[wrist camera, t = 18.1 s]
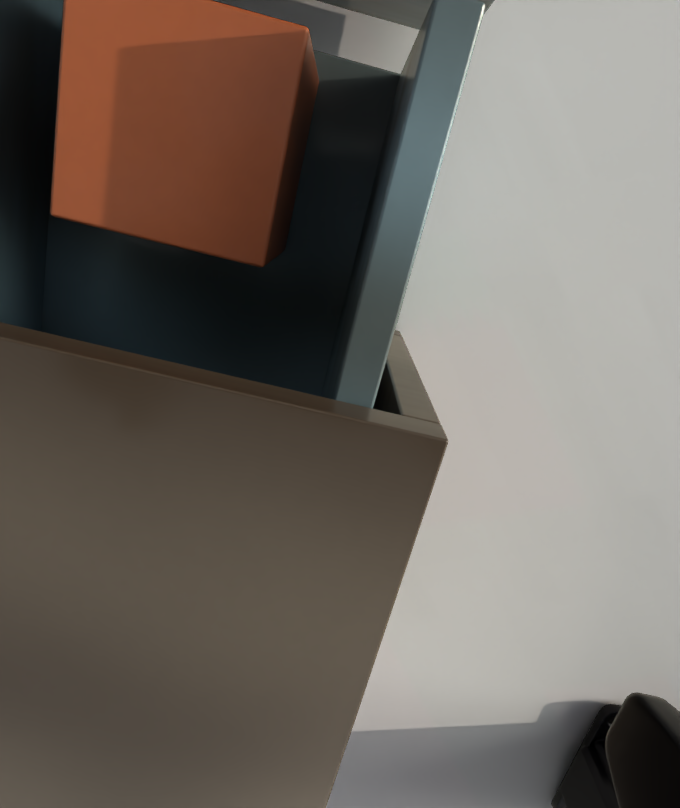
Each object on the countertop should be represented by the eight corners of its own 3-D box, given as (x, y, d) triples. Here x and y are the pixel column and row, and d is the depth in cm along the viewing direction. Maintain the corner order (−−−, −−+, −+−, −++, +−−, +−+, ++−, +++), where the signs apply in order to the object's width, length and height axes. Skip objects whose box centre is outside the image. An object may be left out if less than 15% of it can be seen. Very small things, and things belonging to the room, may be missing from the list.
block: (319, 78, 14) (310, 26, 10) (285, 252, 16) (263, 268, 12) (147, 31, 14) (64, -43, 10) (127, 212, 15) (48, 216, 11)
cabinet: (11, 236, 18) (-307, 266, 9) (400, 331, 18) (449, 440, 10) (-6, 609, 22) (-225, 861, 14) (304, 669, 23) (281, 941, 15)
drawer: (46, -418, 12) (-343, -1234, 5) (546, -254, 13) (773, -771, 6) (8, 376, 18) (-197, 480, 11) (351, 453, 19) (355, 595, 12)
